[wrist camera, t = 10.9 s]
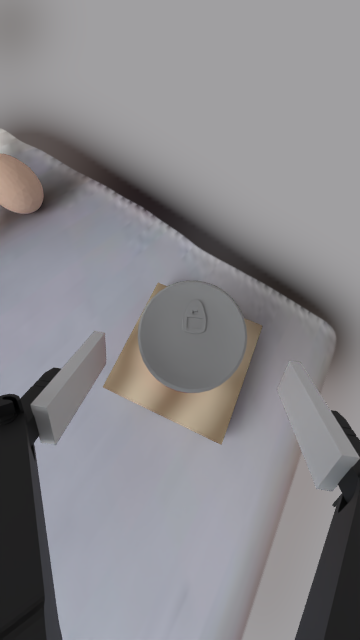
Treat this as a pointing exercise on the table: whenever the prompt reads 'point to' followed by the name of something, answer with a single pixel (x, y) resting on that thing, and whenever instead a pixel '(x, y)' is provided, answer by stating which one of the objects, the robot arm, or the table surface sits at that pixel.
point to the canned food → (192, 336)
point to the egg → (19, 186)
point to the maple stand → (182, 408)
